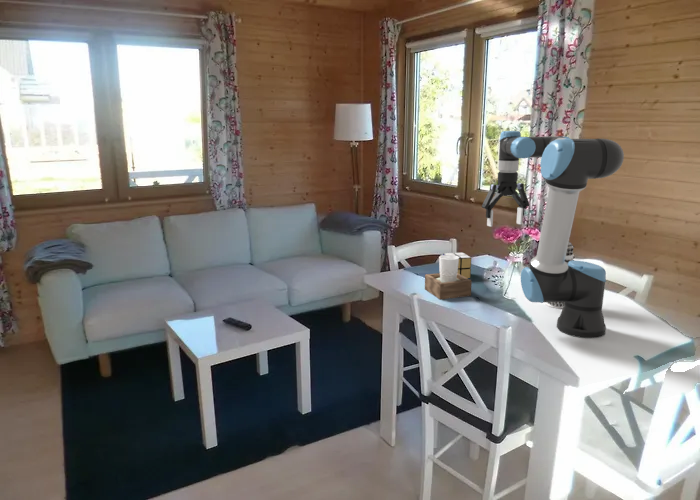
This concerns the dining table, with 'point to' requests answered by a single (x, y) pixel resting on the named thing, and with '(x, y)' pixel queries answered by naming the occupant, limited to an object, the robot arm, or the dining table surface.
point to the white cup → (448, 267)
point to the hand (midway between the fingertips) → (504, 225)
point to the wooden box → (447, 286)
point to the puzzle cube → (463, 264)
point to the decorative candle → (568, 258)
